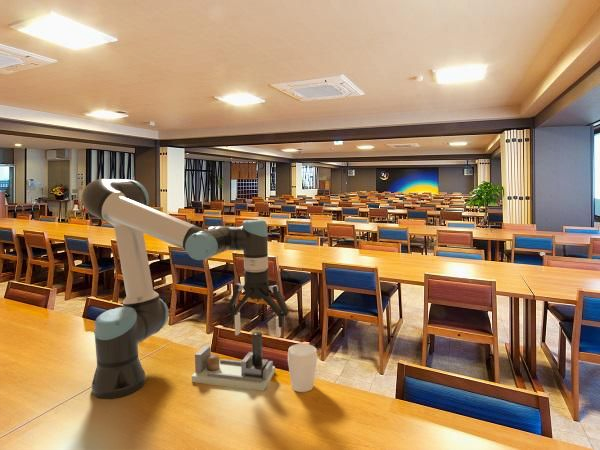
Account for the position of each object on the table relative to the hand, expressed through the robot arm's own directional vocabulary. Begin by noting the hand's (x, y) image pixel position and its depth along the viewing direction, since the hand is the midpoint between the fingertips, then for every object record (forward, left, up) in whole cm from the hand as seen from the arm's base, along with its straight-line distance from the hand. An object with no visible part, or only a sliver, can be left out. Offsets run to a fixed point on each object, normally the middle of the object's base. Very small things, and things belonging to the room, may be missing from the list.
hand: (257, 335), depth 120 cm
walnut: (-16, 0, -13) cm, 20 cm away
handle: (-1, 0, -13) cm, 13 cm away
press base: (-8, 0, -15) cm, 17 cm away
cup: (+15, -1, -15) cm, 21 cm away
